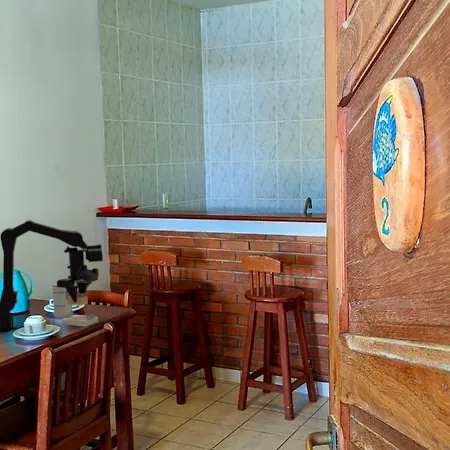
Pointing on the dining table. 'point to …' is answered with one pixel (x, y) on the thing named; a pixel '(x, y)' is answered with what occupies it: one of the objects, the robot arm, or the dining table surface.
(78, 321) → the stand
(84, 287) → the robot arm
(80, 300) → the housing
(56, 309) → the syrup box
